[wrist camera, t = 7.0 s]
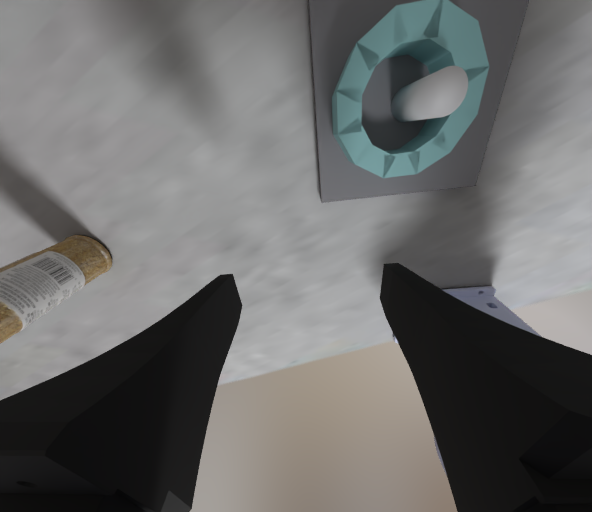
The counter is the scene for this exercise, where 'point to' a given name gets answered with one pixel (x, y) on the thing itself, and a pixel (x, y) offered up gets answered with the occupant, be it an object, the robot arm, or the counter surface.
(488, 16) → the pin board
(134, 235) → the counter surface
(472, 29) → the ring
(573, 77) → the counter surface
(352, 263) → the counter surface
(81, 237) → the sprinkles bottle
